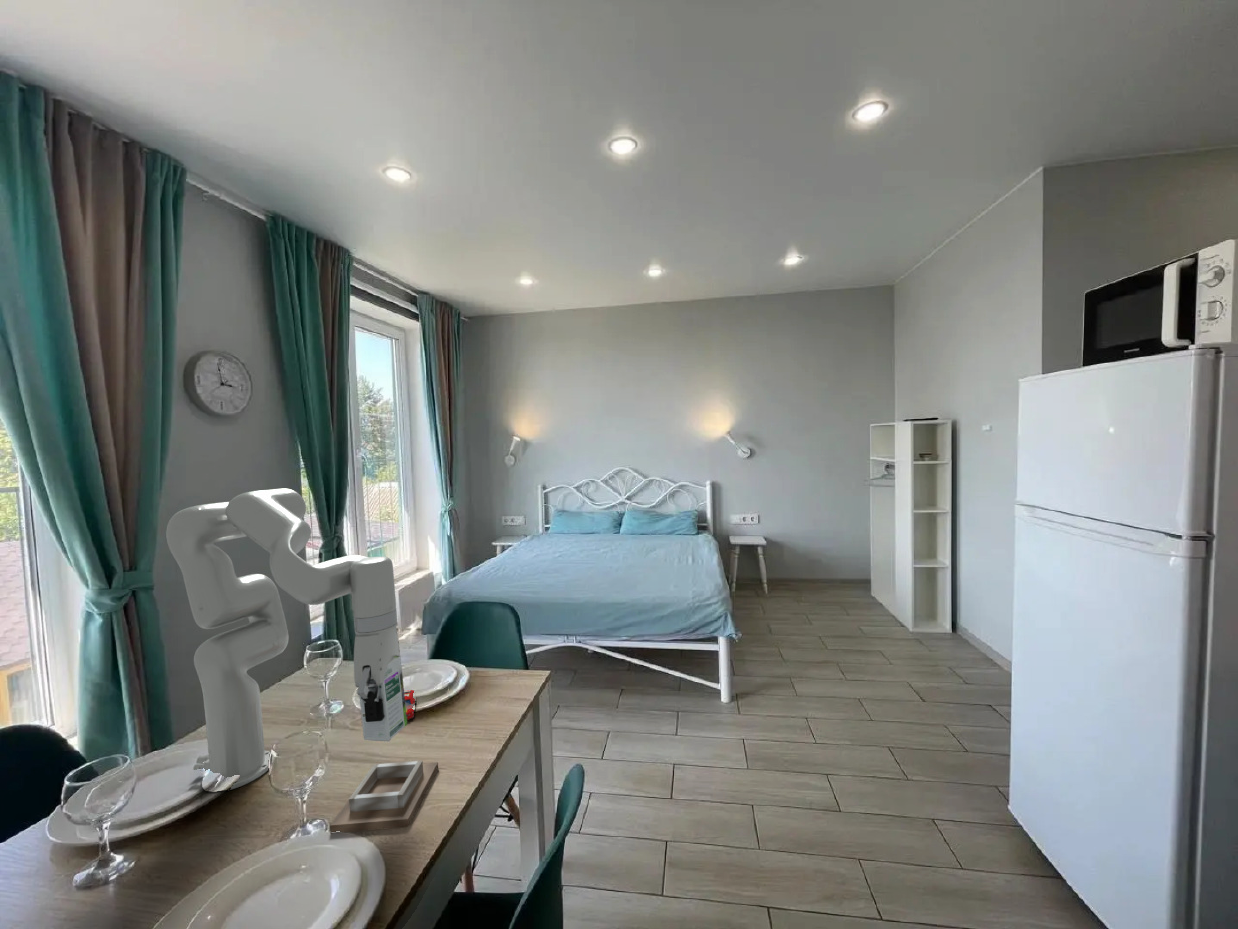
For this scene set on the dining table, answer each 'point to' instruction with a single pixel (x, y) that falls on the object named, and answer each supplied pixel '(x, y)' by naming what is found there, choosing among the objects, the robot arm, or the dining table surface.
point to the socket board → (386, 797)
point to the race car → (409, 704)
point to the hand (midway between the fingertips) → (383, 709)
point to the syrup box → (388, 705)
